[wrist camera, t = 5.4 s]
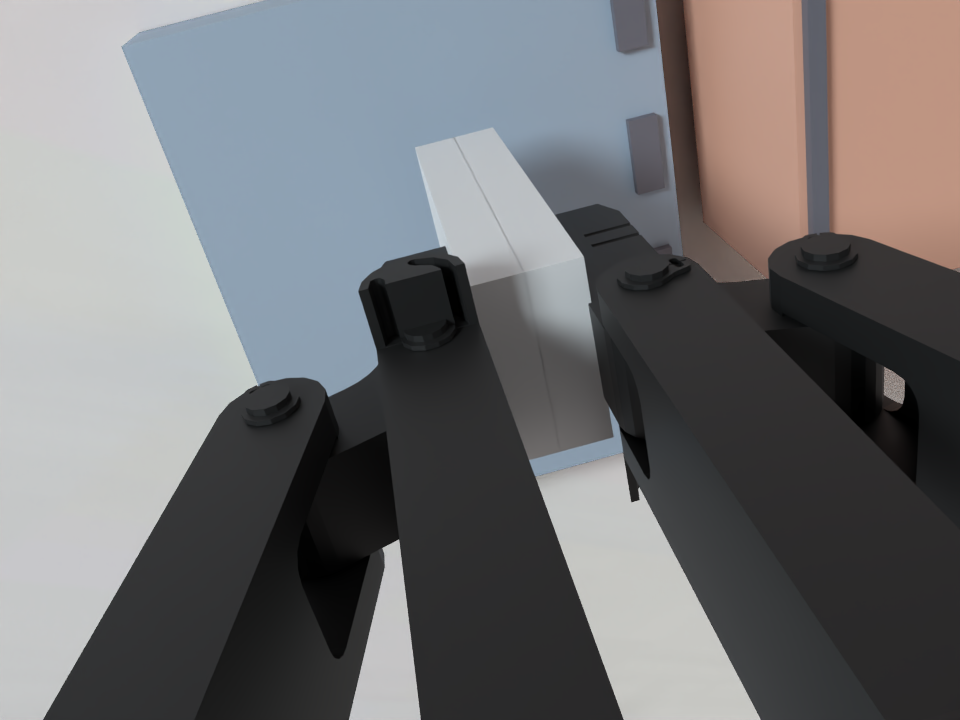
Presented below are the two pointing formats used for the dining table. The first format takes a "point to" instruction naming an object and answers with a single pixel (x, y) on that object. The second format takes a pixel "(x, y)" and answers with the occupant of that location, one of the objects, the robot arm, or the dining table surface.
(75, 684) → the robot arm
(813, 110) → the stub
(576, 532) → the dining table surface
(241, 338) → the board
